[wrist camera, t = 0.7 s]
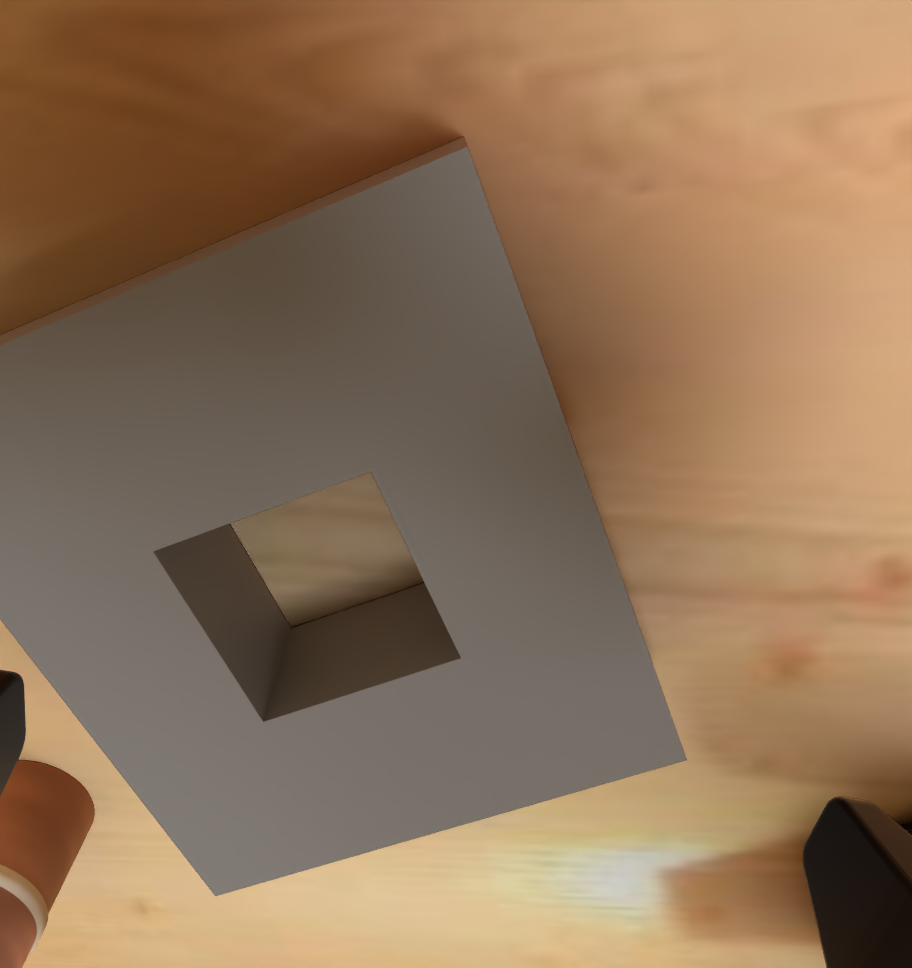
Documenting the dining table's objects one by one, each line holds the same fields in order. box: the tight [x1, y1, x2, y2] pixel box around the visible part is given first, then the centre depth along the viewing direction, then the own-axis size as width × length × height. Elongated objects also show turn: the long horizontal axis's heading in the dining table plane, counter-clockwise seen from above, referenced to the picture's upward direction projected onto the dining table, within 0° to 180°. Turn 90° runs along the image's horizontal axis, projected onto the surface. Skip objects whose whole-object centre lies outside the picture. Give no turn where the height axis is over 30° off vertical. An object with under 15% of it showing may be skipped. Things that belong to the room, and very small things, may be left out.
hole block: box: [0, 137, 687, 896], centre depth 21 cm, size 16×14×4 cm
